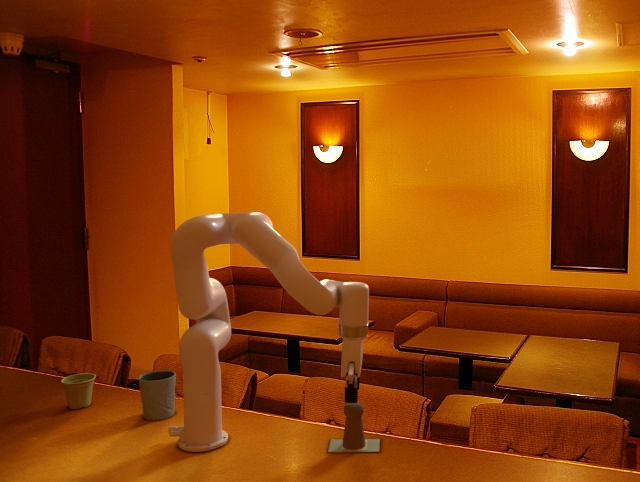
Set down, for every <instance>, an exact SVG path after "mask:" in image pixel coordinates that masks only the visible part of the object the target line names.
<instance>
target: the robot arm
mask: <svg viewBox="0 0 640 482" xmlns="http://www.w3.org/2000/svg"><path fill="white" fill-rule="evenodd" d="M219 245H240V246H241V247H242V248H243V249H245V250H246V251H247V252H248V253H249V254H250V255H252V257H254V258H255V259H256V260H257V261H258V262H259V263H261V264H262V265H263V266H264V267H265V268H266V269H268V270H269V271H270V272H271V273H272V275H273V276H274V278H275V279H276V280H277V281H278V282H279V284H280V285H281V287H282V288H283V289H284V290H285V291H286V293H288V294H289V296H290V297H291V298H293V299H294V300H295V301H296V302H297V303H299V304H300V305H301V306H302V307H303V308H304V309H306V311H308V312H310V313H311V314H314V315H317V316H324V315H327V314H329V313H331V312H332V311H333V310H334V309H335V308H338V309H339V311H338V312H339V314H338V337H339V338H340V339H342V343H341V363H340V364H341V366H340V377H341V378H342V379H343V378H344V377H345V386H344V403H345V404H347V403H357V402H359V400H358V399H359V398H358V397H359V390H360V380H361V379H360V377H361V374H362V373H361V372H362V366H363V358H364V357H363V356H364V340H365V339H367V338H368V337H369V311H370V287H369V285H368V284H367V283H365V282H360V281H348V282H347V281H346V282H345V281H340V280H339V281H338V280H334V279H322V280H319V279H318V278H316V277H315V276H314V275H313V274H312V273H311V272H310V271H309V270H308V269H307V268H306V267H305V266H304V264H303V263H302V261H301V259H300V257H299V256H300V255H299V254H298V250H297V249H296V248H295V246H293V244H292V243H290V242H289V241H288V240H287V239H286V238H284V237H283V236H282V235H281V234H280V233H278V231H276V230H275V229H274V224H273V221H272V220H271V218H270V217H269V216H268V215H267V214H266V213H263V212H259V211H253V212H251V211H250V212H229V213H228V212H227V213H225V212H224V213H222V212H221V213H220V212H219V213H209V214H200V215H196V216H193V217H191V218H189V219H187V220H185V221H183V223H181V224H179V226H178V227H177V228H176V229H175V231H174V233H173V234H172V237H171V239H170V245H169V246H170V247H169V249H170V258H171V263H172V270H173V277H174V284H175V285H174V286H175V293H176V300H177V305H178V311H179V312H180V314H181V315H182V317H184V318H185V319H187V320H195V324H193V325H191V326H190V327H188V328H187V329H186V330H185V331H184V332H183V334H182V336H181V337H180V340H179V344H178V351H179V352H178V353H179V358H180V362H181V371H182V389H183V393H182V394H183V424H181V425H178V426H177V425H169V426H168V434H169V437H172V438H173V437H179V438H178V440H177V447H178V448H179V449H180V450H182V451H185V452H189V453H202V452H209V451H212V450H216V449H219V448H221V447H222V446H224V445H225V444H227V443H228V441H229V433H228V432H227V431H225V430H224V429H223V413H222V412H223V409H222V407H223V405H222V404H223V403H222V402H223V401H222V370H221V365H220V360H219V352H220V351H221V350H223V349H224V348H225V347H226V346H227V345H228V343H229V342H230V340H231V336H232V323H231V316H230V310H229V303H228V296H227V293H226V290H225V288H224V286H223V284H222V283H221V282H220V281H219V280H217V279H215V278H212V277H210V273H209V265H208V261H207V259H206V256H205V254H204V253H205V250H206V249H208V248H212V247H216V246H219Z"/></svg>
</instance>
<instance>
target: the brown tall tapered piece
mask: <svg viewBox="0 0 640 482" xmlns="http://www.w3.org/2000/svg"><path fill="white" fill-rule="evenodd" d="M364 407H365V406H364V405H363V403H361V402H359V401H357V403H345V405H344V407H343V414H344V416H345V421H344V427H343V428H344V429H343V438H342V439H343V444H342V446H343V447H344V448H346V449H349V450H357V449H361V448H363V447H365V445H366V443H365V439H366V437H365V430H364V429H365V428H364V423H363V422H364V421H363V415H364V412H365V408H364Z"/></svg>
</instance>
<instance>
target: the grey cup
mask: <svg viewBox="0 0 640 482" xmlns="http://www.w3.org/2000/svg"><path fill="white" fill-rule="evenodd" d="M176 380H177V373H176V371H174V370H169V369H159V370H158V369H157V370H152V371H148V372H145V373H142V374H141V375H139V376H138V385H139V390H140V391H139V392H140V399H141V404H142V416H143V419H145V420H146V421H162V420H166V419H169V418H171V417H173V416H174V415H175V412H176V409H175V408H176V406H175V405H176V403H175V400H176V392H175V391H176V390H175V389H176V382H177V381H176Z"/></svg>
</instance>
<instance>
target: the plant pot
mask: <svg viewBox="0 0 640 482" xmlns="http://www.w3.org/2000/svg"><path fill="white" fill-rule="evenodd" d="M96 378H97V375H96V373H95V374H94V373H90V372H89V373H88V372H87V373H83V372H82V373H76V374H71V375H68V376H65V377H63V378H62V379H61V380H60V382H61V384H62V386H63V388H64V392H65V396H66V397H65V398H66V402H67V407H68V408H69V409H71V410H79V409H81V408H87V407H89V406H91V404H92V396H93V390H94V383H95V379H96Z"/></svg>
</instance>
